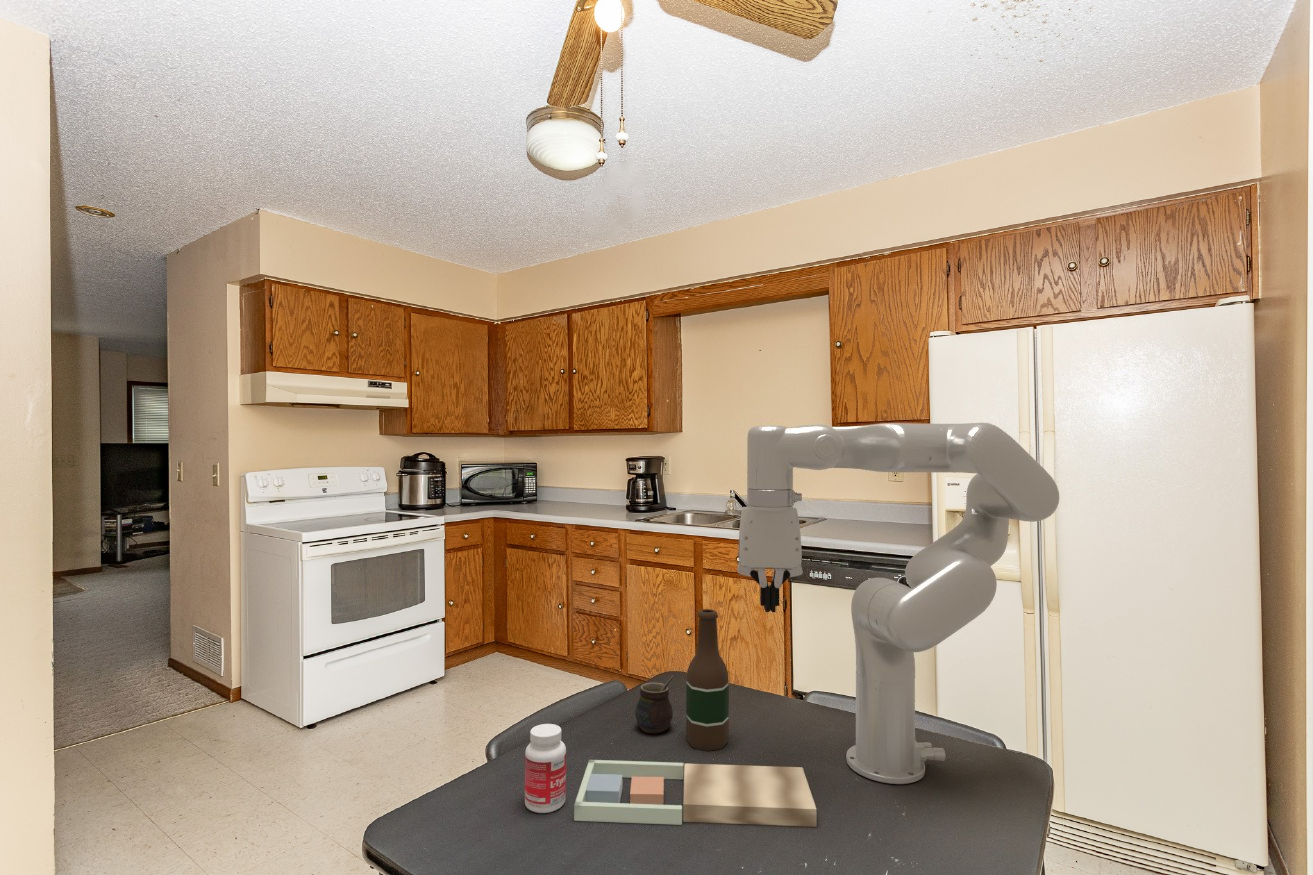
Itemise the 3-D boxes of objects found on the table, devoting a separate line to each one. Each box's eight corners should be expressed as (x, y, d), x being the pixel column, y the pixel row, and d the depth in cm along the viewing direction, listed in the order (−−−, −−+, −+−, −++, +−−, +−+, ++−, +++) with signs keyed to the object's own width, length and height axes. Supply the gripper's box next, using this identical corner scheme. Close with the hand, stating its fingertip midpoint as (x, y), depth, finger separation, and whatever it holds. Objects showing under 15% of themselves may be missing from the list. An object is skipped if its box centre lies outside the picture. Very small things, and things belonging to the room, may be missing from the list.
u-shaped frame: (683, 776, 106) (683, 762, 106) (681, 824, 92) (681, 809, 92) (589, 772, 107) (589, 759, 107) (574, 820, 93) (574, 805, 93)
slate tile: (591, 773, 102) (591, 789, 102) (586, 790, 97) (585, 807, 97) (622, 774, 102) (622, 790, 102) (618, 791, 97) (618, 808, 97)
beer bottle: (728, 733, 122) (728, 606, 122) (728, 752, 114) (729, 616, 114) (687, 731, 123) (687, 604, 123) (684, 750, 115) (685, 615, 115)
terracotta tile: (663, 792, 101) (663, 776, 101) (663, 811, 96) (663, 794, 96) (631, 792, 101) (631, 776, 101) (630, 810, 96) (630, 793, 96)
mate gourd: (628, 725, 125) (629, 673, 125) (662, 718, 129) (663, 667, 129) (645, 739, 119) (646, 685, 119) (680, 732, 122) (681, 679, 123)
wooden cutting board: (802, 782, 104) (802, 767, 104) (816, 826, 92) (816, 809, 92) (684, 778, 105) (684, 763, 105) (683, 821, 93) (683, 804, 93)
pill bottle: (554, 817, 94) (554, 741, 94) (517, 810, 96) (517, 735, 96) (572, 795, 100) (572, 724, 100) (537, 789, 102) (537, 718, 102)
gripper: (811, 498, 111) (811, 605, 110) (723, 497, 112) (723, 603, 111) (819, 502, 103) (819, 617, 103) (726, 501, 104) (725, 615, 104)
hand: (769, 610), depth 107 cm, fingers closed
